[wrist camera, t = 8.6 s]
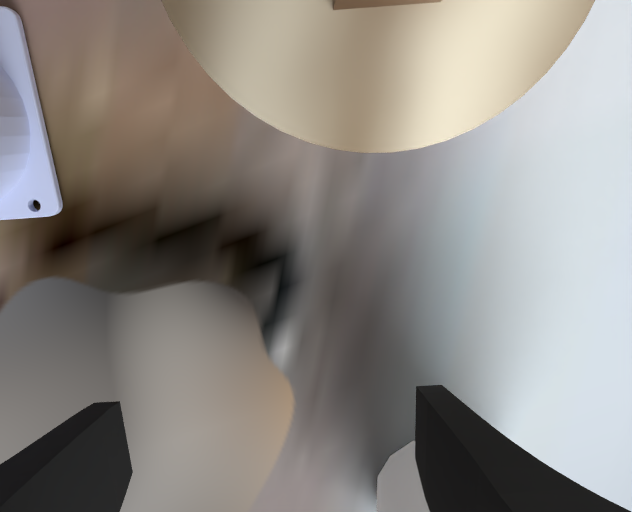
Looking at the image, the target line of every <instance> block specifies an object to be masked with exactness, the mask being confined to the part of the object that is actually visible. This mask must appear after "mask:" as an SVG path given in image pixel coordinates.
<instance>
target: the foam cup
mask: <svg viewBox="0 0 632 512" xmlns="http://www.w3.org/2000/svg"><path fill="white" fill-rule="evenodd" d="M377 512H430V510H429V508H428V505H427V502H426V499H425V496H424V492H423V488H422V484H421V481H420V476H419V472H418V468H417V464H416V460H415V441H411V442H410V443H409V444H407V445H406V446H404V447H403V448H401V449H400V450H398V451H397V452H395V453H394V454H392V455H391V456H390V457H389V459H388V460H387V462H386V463H385V465H384V467H383V468H382V470H381V472H380V473H379V475H378V477H377Z"/></svg>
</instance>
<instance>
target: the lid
mask: <svg viewBox="0 0 632 512" xmlns="http://www.w3.org/2000/svg"><path fill="white" fill-rule="evenodd" d="M161 1H162V3H163V5H164V7H165V9H166V11H167V14H168V16H169V18H170V20H171V22H172V24H173V25H174V27H175V29H176V30H177V32H178V33H179V35H180V37H181V38H182V40H183V42H184V43H185V45H186V46H187V48H188V50H189V51H190V52H191V54H192V55H193V56H194V57H195V59H196V60H197V61H198V63H199V64H200V65H201V66H202V68H203V69H204V70H205V71H206V73H207V74H208V75H209V76H210V77H211V78H212V79H213V80H214V81H215V82H216V83H217V84H218V85H219V86H220V87H221V88H222V89H223V90H224V91H225V92H226V93H227V94H228V95H229V96H230V97H231V98H232V99H233V100H235V101H236V102H237V103H239V104H240V105H241V106H243V107H244V108H245V109H247V110H248V111H249V112H250V113H252V114H253V115H254V116H256V117H257V118H259V119H261V120H263V121H264V122H266V123H268V124H270V125H271V126H273V127H275V128H277V129H278V130H280V131H282V132H284V133H287V134H289V135H292V136H294V137H296V138H299V139H301V140H304V141H306V142H309V143H313V144H317V145H320V146H324V147H328V148H332V149H336V150H344V151H352V152H360V153H391V152H398V151H405V150H412V149H419V148H422V147H426V146H429V145H433V144H437V143H440V142H444V141H447V140H449V139H451V138H454V137H456V136H458V135H461V134H463V133H466V132H468V131H470V130H473V129H474V128H476V127H478V126H479V125H481V124H483V123H485V122H486V121H488V120H490V119H491V118H493V117H495V116H497V115H498V114H500V113H501V112H502V111H504V110H505V109H506V108H508V107H509V106H510V105H512V104H513V103H514V102H515V101H517V100H518V99H519V98H521V97H522V96H523V95H524V94H525V93H526V92H527V91H528V90H529V89H531V88H532V87H533V86H534V85H535V84H536V83H537V82H538V81H539V80H540V79H541V78H542V77H543V76H544V75H545V74H546V73H547V72H548V70H549V69H550V68H551V67H552V66H553V64H554V63H555V62H556V61H557V60H558V58H559V57H560V56H561V55H562V53H563V52H564V51H565V50H566V49H567V47H568V45H569V44H570V42H571V41H572V39H573V38H574V36H575V35H576V33H577V32H578V30H579V29H580V27H581V26H582V24H583V23H584V21H585V19H586V17H587V15H588V13H589V11H590V9H591V7H592V5H593V3H594V1H595V0H161Z"/></svg>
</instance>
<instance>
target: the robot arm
mask: <svg viewBox="0 0 632 512" xmlns="http://www.w3.org/2000/svg"><path fill="white" fill-rule="evenodd" d="M34 200H37V201H38V202H39V203H40V205H41V209H40V210H37V209H36V208H35V207H34V205H33V201H34ZM62 207H63V204H62V198H61V194H60V189H59V185H58V180H57V176H56V172H55V167H54V163H53V158H52V154H51V149H50V145H49V140H48V136H47V131H46V127H45V123H44V118H43V114H42V109H41V105H40V100H39V96H38V91H37V87H36V82H35V78H34V74H33V69H32V65H31V60H30V56H29V51H28V47H27V42H26V38H25V34H24V29H23V25H22V21H21V18H20V16H19V15H18V14H17V12H16V11H14V10H12V9H10V8H8V7H5V6H0V220H7V219H21V218H34V217H47V216H53V215H56V214H58V213H59V212H60V211H61V210H62ZM415 460H416V464H417V468H418V472H419V476H420V481H421V484H422V488H423V492H424V496H425V499H426V502H427V505H428V508H429V510H430V512H631V511H629V510H627V509H625V508H623V507H621V506H619V505H617V504H615V503H613V502H611V501H609V500H607V499H605V498H603V497H601V496H599V495H597V494H595V493H594V492H592V491H590V490H588V489H586V488H584V487H583V486H581V485H579V484H578V483H576V482H574V481H572V480H571V479H569V478H567V477H566V476H564V475H562V474H561V473H559V472H557V471H556V470H554V469H552V468H551V467H549V466H548V465H546V464H544V463H543V462H541V461H540V460H538V459H537V458H535V457H534V456H532V455H531V454H530V453H528V452H527V451H525V450H524V449H522V448H521V447H519V446H518V445H517V444H515V443H514V442H512V441H511V440H510V439H508V438H507V437H506V436H504V435H503V434H502V433H500V432H499V431H498V430H496V429H495V428H494V427H492V426H491V425H490V424H489V423H487V422H486V421H485V420H484V419H482V418H481V417H480V416H479V415H477V414H476V413H475V412H474V411H472V410H471V409H470V408H469V407H468V406H466V405H465V404H464V403H463V402H462V401H460V400H459V399H458V398H457V397H456V396H454V395H453V394H452V393H451V392H450V391H448V390H447V389H446V388H444V387H443V386H442V385H433V386H416V431H415ZM131 476H132V467H131V461H130V455H129V450H128V444H127V439H126V433H125V428H124V422H123V417H122V411H121V406H120V402H100V403H93V404H92V405H90V406H88V407H86V408H85V409H83V410H81V411H80V412H78V413H77V414H75V415H74V416H72V417H71V418H69V419H68V420H66V421H65V422H63V423H62V424H61V425H59V426H57V427H56V428H54V429H53V430H52V431H50V432H49V433H47V434H46V435H44V436H43V437H41V438H40V439H38V440H37V441H35V442H34V443H32V444H31V445H29V446H28V447H27V448H25V449H23V450H22V451H20V452H19V453H17V454H16V455H14V456H13V457H11V458H10V459H8V460H7V461H5V462H4V463H2V464H0V512H119V511H120V509H121V506H122V503H123V500H124V497H125V495H126V491H127V488H128V485H129V482H130V479H131Z"/></svg>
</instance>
